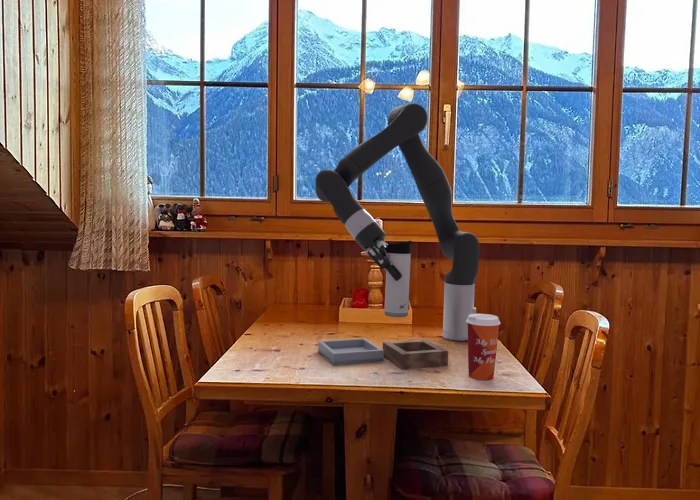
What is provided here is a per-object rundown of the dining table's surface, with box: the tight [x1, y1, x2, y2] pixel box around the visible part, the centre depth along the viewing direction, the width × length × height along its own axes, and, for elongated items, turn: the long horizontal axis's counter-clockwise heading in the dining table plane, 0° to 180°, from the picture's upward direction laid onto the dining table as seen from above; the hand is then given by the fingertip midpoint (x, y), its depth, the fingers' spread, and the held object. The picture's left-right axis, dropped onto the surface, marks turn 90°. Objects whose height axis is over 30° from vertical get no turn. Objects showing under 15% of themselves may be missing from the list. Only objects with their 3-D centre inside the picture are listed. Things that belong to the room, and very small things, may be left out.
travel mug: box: [384, 240, 414, 318], centre depth 158 cm, size 6×7×20 cm
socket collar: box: [382, 339, 449, 371], centre depth 159 cm, size 13×13×4 cm
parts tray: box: [317, 337, 385, 366], centre depth 162 cm, size 14×14×3 cm
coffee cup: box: [466, 313, 501, 381], centre depth 146 cm, size 8×8×15 cm
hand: (404, 277), depth 157 cm, fingers closed on travel mug, 6 cm apart
